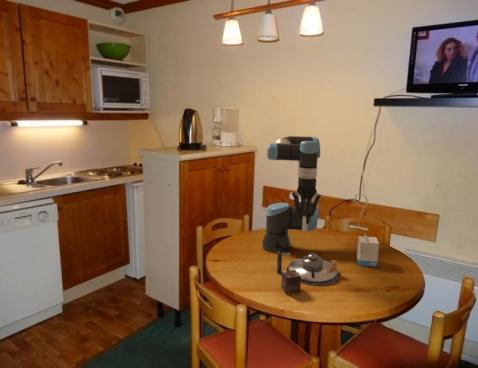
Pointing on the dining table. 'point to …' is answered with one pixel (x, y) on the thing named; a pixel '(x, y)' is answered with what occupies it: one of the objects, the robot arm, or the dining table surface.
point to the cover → (312, 263)
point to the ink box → (367, 251)
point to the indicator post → (280, 261)
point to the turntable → (315, 277)
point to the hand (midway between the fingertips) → (304, 230)
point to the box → (291, 282)
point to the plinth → (319, 283)
